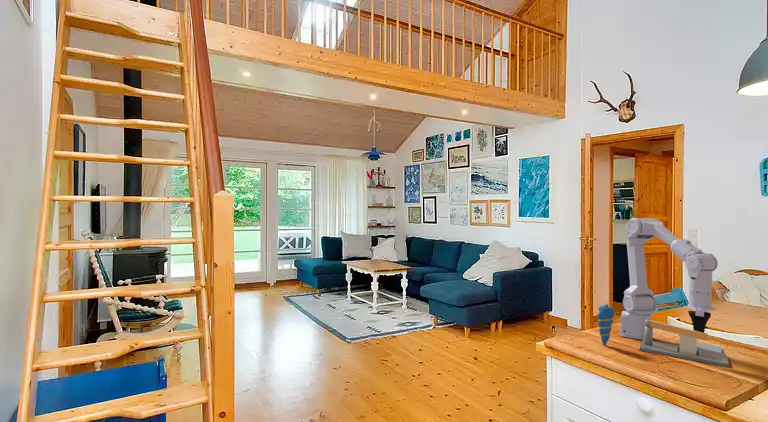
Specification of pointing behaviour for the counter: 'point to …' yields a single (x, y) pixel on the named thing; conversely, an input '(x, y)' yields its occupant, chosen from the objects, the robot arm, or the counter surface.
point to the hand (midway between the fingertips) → (698, 335)
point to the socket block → (672, 350)
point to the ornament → (605, 322)
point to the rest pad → (709, 347)
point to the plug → (688, 344)
